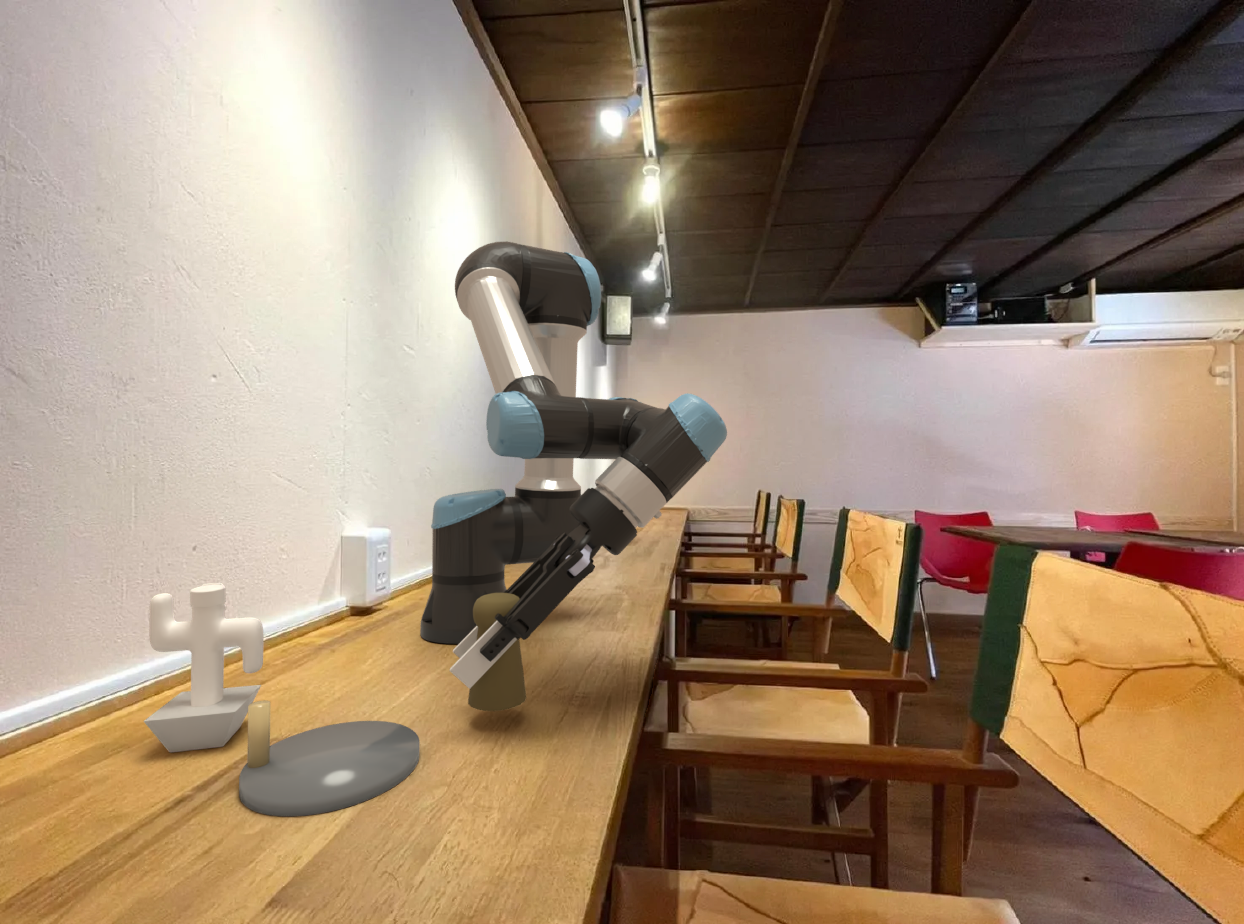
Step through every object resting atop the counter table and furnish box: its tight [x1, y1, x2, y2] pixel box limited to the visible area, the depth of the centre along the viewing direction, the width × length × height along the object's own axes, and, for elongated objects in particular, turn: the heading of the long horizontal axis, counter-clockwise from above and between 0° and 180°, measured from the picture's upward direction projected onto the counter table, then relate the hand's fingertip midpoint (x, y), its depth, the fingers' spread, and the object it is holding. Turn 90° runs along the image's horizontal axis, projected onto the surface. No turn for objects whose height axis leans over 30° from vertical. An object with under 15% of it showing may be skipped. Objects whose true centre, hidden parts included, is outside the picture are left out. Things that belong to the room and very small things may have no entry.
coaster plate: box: [238, 700, 421, 817], centre depth 50 cm, size 14×14×6 cm
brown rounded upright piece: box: [467, 593, 527, 712], centre depth 60 cm, size 6×6×11 cm
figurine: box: [143, 582, 264, 753], centre depth 56 cm, size 7×9×15 cm
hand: (461, 668), depth 59 cm, fingers closed on brown rounded upright piece, 5 cm apart
